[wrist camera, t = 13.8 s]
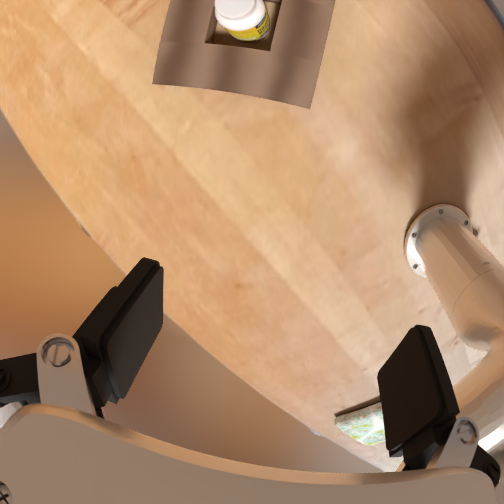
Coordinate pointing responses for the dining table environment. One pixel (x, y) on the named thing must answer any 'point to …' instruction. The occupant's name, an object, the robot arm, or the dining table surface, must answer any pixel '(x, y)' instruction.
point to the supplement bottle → (243, 18)
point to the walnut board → (245, 52)
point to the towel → (364, 424)
